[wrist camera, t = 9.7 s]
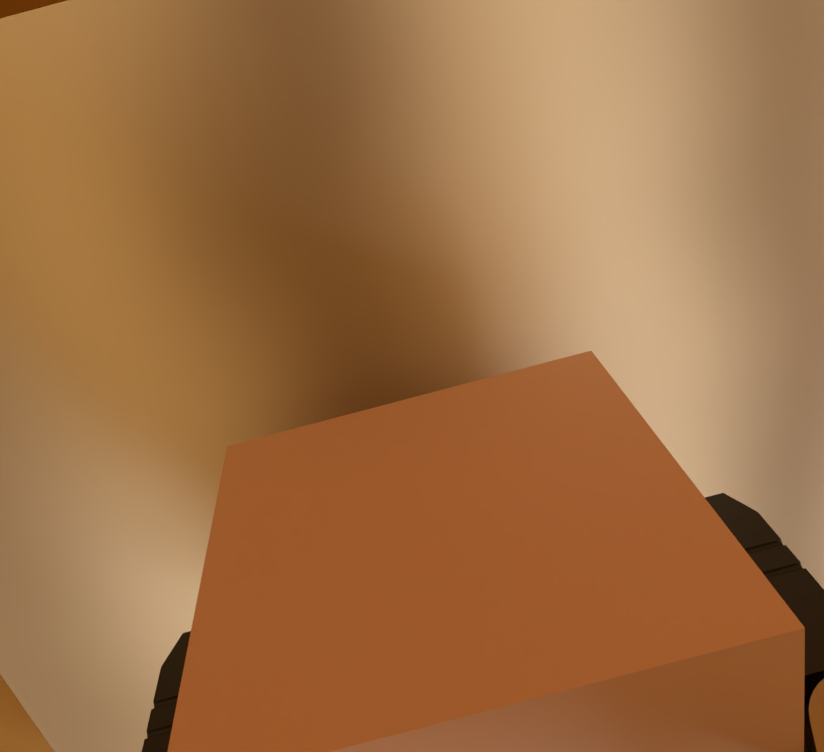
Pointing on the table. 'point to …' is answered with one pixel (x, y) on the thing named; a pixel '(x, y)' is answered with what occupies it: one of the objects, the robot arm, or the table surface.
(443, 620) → the terracotta cube
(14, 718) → the table surface
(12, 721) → the table surface
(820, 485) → the maple base
